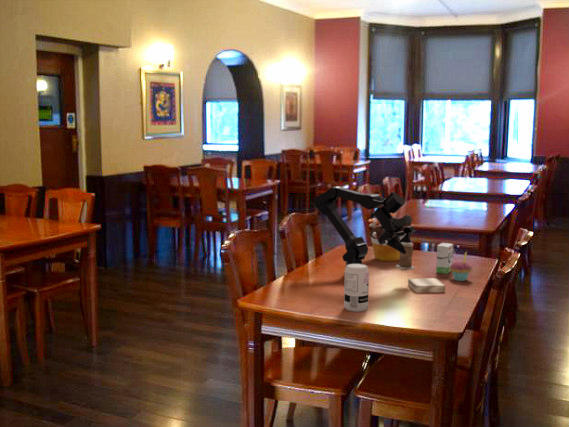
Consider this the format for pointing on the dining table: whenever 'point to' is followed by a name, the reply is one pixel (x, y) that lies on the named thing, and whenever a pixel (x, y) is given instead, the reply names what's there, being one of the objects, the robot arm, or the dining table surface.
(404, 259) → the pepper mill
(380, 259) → the bucket of meat
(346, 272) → the supplement can
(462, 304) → the dining table surface
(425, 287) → the birch block
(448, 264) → the ink box
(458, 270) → the cupcake
